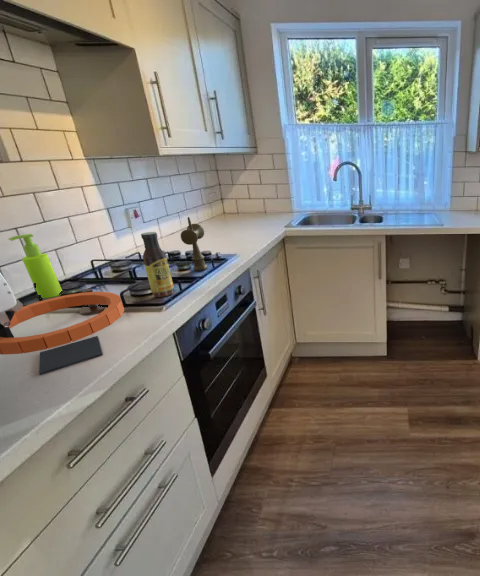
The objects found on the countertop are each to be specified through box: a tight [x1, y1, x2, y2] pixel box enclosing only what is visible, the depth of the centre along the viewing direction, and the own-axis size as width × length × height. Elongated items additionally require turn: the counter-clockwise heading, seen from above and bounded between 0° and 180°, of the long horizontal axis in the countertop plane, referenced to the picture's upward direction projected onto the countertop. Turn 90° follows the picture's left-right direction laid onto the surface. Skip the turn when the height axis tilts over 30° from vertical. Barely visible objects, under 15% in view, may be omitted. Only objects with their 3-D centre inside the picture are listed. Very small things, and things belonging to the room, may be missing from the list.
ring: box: [0, 291, 125, 356], centre depth 80 cm, size 24×24×3 cm
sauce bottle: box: [140, 231, 175, 298], centre depth 111 cm, size 7×6×20 cm
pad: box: [38, 335, 104, 375], centre depth 84 cm, size 11×11×1 cm
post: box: [78, 288, 105, 316], centre depth 105 cm, size 7×7×6 cm
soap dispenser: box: [8, 233, 63, 300], centre depth 113 cm, size 6×7×20 cm
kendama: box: [180, 216, 209, 272], centre depth 132 cm, size 6×10×20 cm, turn 12°
